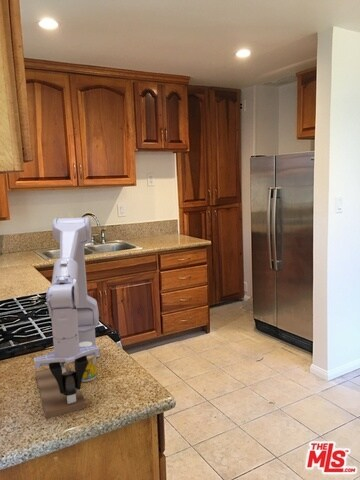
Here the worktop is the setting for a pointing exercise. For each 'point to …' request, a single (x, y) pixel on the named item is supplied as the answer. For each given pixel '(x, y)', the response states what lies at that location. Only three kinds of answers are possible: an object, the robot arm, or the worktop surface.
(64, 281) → the robot arm
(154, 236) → the worktop surface
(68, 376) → the lever
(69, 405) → the base board
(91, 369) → the supplement bottle
